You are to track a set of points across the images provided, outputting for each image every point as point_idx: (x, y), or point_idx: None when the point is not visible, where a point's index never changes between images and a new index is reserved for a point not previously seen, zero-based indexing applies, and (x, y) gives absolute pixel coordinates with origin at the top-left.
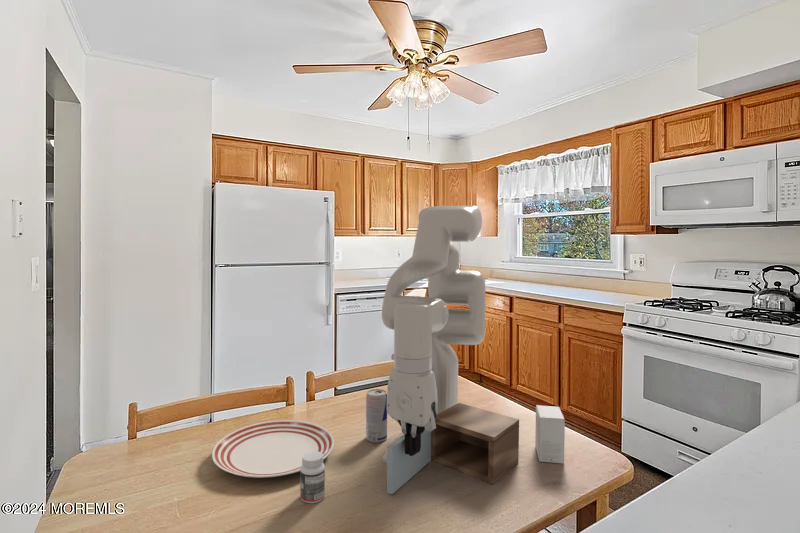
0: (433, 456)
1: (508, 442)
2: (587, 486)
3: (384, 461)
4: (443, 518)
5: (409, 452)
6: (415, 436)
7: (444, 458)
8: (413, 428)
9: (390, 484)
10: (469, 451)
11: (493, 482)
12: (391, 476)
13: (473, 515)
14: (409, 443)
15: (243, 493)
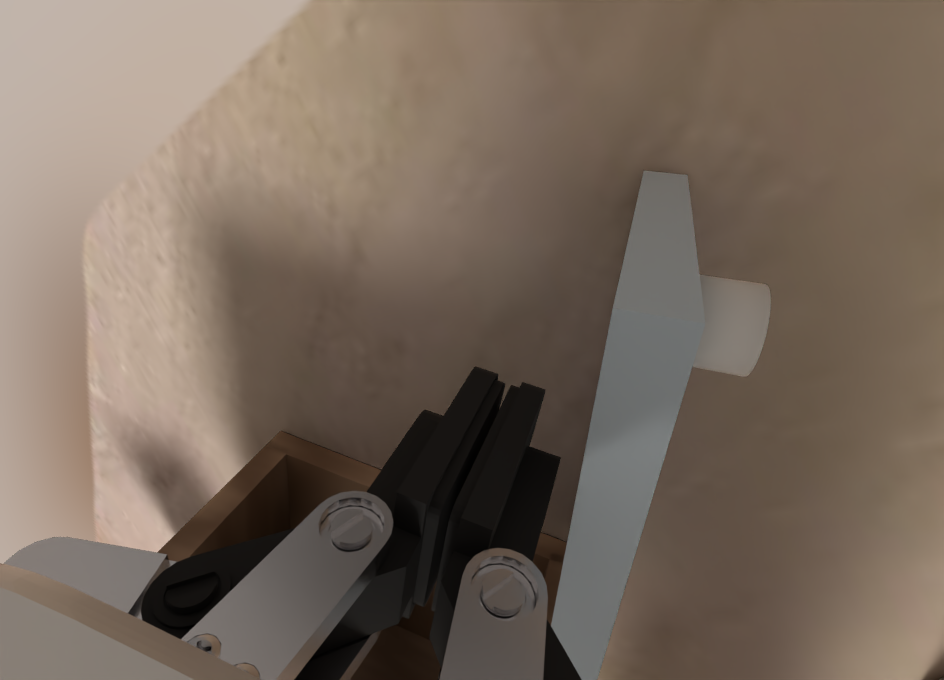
0: (558, 559)
1: None
2: (104, 482)
3: (746, 281)
4: (299, 111)
5: (482, 385)
6: (329, 499)
7: None
8: (298, 597)
9: (655, 187)
10: (431, 603)
11: (276, 437)
12: (643, 204)
13: (223, 204)
14: (449, 443)
15: None
